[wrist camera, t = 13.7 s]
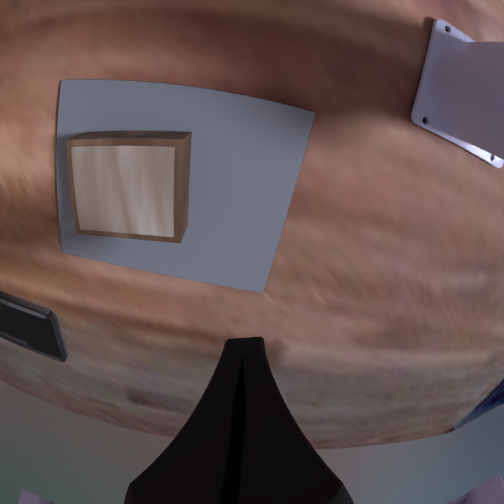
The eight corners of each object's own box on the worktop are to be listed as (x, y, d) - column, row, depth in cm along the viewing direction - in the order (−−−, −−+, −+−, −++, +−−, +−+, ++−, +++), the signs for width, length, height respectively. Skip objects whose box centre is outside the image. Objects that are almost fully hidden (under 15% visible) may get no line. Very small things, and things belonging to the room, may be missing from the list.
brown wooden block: (182, 139, 14) (65, 140, 14) (180, 243, 17) (75, 234, 17) (191, 131, 16) (86, 131, 16) (188, 224, 20) (92, 216, 19)
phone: (-40, 279, 22) (52, 316, 24) (-35, 274, 23) (57, 309, 25) (-21, 327, 26) (67, 365, 28) (-17, 321, 27) (70, 358, 29)
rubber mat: (313, 112, 16) (315, 112, 16) (262, 288, 23) (263, 292, 22) (65, 79, 14) (61, 80, 14) (65, 249, 21) (62, 252, 21)
